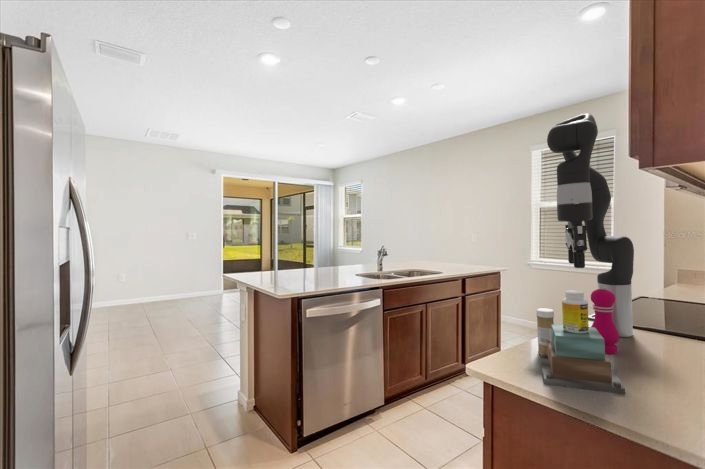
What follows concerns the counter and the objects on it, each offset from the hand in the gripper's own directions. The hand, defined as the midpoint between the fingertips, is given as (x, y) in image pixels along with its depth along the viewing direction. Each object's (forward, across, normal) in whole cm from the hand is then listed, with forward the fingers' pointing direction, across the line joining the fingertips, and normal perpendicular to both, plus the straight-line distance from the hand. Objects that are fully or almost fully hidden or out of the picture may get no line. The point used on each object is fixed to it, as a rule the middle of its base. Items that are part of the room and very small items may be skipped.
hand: (576, 265), depth 88 cm
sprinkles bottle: (+28, -12, -7) cm, 31 cm away
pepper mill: (+28, -20, +9) cm, 36 cm away
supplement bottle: (+17, 0, -1) cm, 17 cm away
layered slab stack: (+28, +1, -1) cm, 28 cm away
